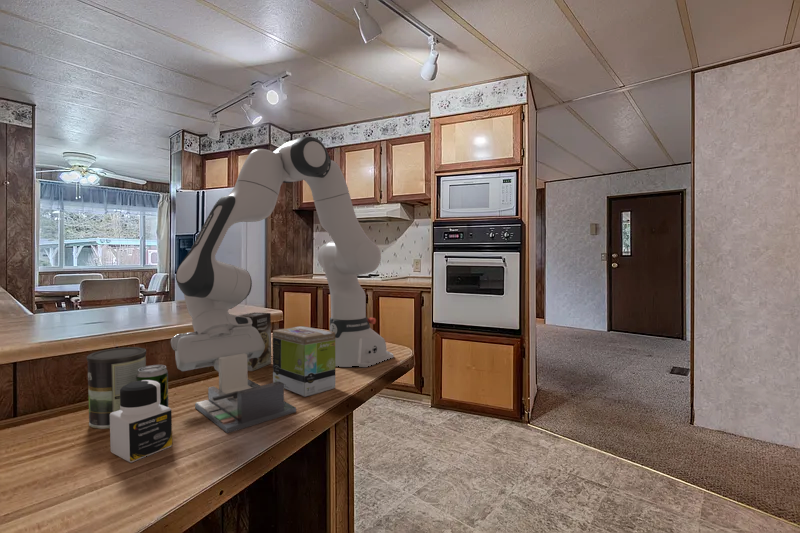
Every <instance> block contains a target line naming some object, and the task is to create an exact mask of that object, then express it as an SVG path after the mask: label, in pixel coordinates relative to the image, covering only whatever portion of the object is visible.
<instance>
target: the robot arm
mask: <svg viewBox="0 0 800 533" xmlns="http://www.w3.org/2000/svg"><path fill="white" fill-rule="evenodd" d="M300 181H305V183H306V184H307V185H308V187H309V189H310V191H311V196H312V199H313V203H314V206H315V210H316V214H317V217H318V220H319V224H320V226H321V228H322V229H324V230H325V231H326V232H327V234H328V235H329V236H330V238H331V239H332V240H331V241H328V242H326V243H324V244H323V245H321V247H320V248H319V249H318V252H317V260H318V263H319V265H320V267H321V268H322V269H323V271H324V274H325V277H326V281H327V284H328V289H329V294H330V295H329V296H330V297H329V298H330V317H329V331H332V332H335V367H338V366H339V367H340V368H353V367H352V366H359V367H358V368H369V367H371V365H372V366H375V365H376V363H377V364H380V363H383V362H385V361H387V359H388V360H390V358H391V359H393V358H394V357H395V356H394V354H393V353H392V352H390V351H388V350H387V343H386V340H385V338H384V337H383V336H381V335H380V334H379V333H378V332H376V331H375V330H373V329H372V328H371V325H370V324H372V325H375V324H376V322H377V319H376V317H371V316H370V317H369V318H368V317H367V313H366V312H367V311H366V308H367V306H366V305H367V303H366V302H367V301H366V299H367V297H366V292H365V289H364V288H362V286H361V284H360V282H359V279H358V276H360V275H361V276H362V275H366V274H371V273H372V272H374V271H376V270H377V269H378V267H379V265H380V263H381V260H382V255H381V250H380V248H379V246H378V245H377V244H376V243H375V242H374V241H372V240H371V239H370V238H369V237H368V235H367V234H366V232H365V231H364V229H363V227H362V225H361V224H360V222H359V220H358V218H357V216H356V212H355V208H354V205H353V202H352V199H351V195H350V194H351V193H350V190H349V187H348V185H347V184H348V183H347V182H346V179H345V176H344V173H343V171H342V170H341V167H340V165H339V164H338V163H337V162H336V161H334V160H332V159H331V156H330V155H329V152H328V150H327V148H326V146H325V144H323V142H322V141H321V140H320V139H319V138H317V137H314V136H301V137H298V138H295V139H292V140H289V141H286V142H285V143H283V144H282V145H280V146H278V147H276V148H274V149H273V150H269V149H267V148H266V149H265V148H257V149H253V150H252V151H251V152H250V153H249V154H248V156H246V159H245V161H244V162H243V164H242V167H241V168H240V171H239V174H238V176H237V178H236V182H235V184H234V187H233V189H232V190H231V191H230V192H229V194H228V195H224V196H221V197H220V198H219V199H218V200H217V201H216V203H215V204H214V205H213V207H212V208H211V210H210V212H209V214H208V216H207V217H206V220H205V222H204V224H203V225H202V227H201V229H200V230H199V233H198V235H197V236H196V238H195V240H194V243H193V245H192V246H191V248H190V250H189V251H188V253H187V254H186V255H185V257H184V258H183V259H182V261H181V262H180V263H179V265H178V267H177V269H176V272H175V281H176V283H177V286H178V288H179V289H180V291H181V293H183V295H184V303H185V306H186V309H187V312H188V315H189V316H190V317H191V324H192V328H193V331H191V332H190V331H189V332H185V333H177V334H175V336H172V338H171V339H170V346H171V349H172V350H173V351H174V354H175V356H174V357H175V364H176V368H177V369H178V370H179V371H180V372H186V371H191V370H192V371H193V370H197V369H202V368H209V367H213V368H214V370H215V371H217V372H218V373H219V358H220V357H226V356H232V355H237V354H243V353H245V354H247V359H251V358H256V357H260V356H261V355H262V353H263V351H264V349H265V344H264V342H263V339H262V337H261V335H260V334H259V332H258V330H257V329H256V328H255V327H252V320H251V318H248V317H241V316H240V315H235V314H231V313H229V310H232V309H234V308H236V307H237V306H238V305H239V304H241V303H242V302H244V301H245V300H246V299H247V298H248V297H249V296H250V293H251V291H252V287H253V286H252V284H253V282H252V276H251V274H250V272H249V271H248V270H247V269H245V268H243V267H240V266H236V265H233V264H230V263H227V262H223V261H221V260H217V259H216V254H217V253H218V250H219V248H220V246H221V245H222V242H223V240H224V238H225V237H226V234H227V232H228V230H229V229H230V228H231V227H232V226H233V225H235V224H238V223H253V222H254V223H255V222H256V223H257V222H260V221H263V220H265V219H267V218H269V217H270V216H271V215H272V213H273V212H274V210H275V207H276V205H277V202H278V198H279V194H280V191H281V186H282V185H283V183H284V184H291V183H294V182H295V183H296V182H300ZM384 360H385V361H384ZM382 361H383V362H382ZM379 362H380V363H379ZM368 366H369V367H368Z"/></svg>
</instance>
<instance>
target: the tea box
mask: <svg viewBox="0 0 800 533" xmlns="http://www.w3.org/2000/svg"><path fill="white" fill-rule="evenodd" d="M336 381H337V380H336V366H335V332H332V331H330V330H325V329H320V328H315V327H309V326H303V325H302V326H300V325H299V326H293V327H288V328H279V329H273V330H272V383H274V382H282V383H284V390H288V391H290V392H293V393H295V394H298V395H300V396H302V397H310V396H313V395H317V394H320V393H323V392H326V391H330V390H333V389H335V388H336Z"/></svg>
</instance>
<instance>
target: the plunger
mask: <svg viewBox="0 0 800 533" xmlns="http://www.w3.org/2000/svg"><path fill="white" fill-rule="evenodd" d="M248 374H249V373H248V370H247V354H245V353H243V354H237V355H232V356H226V357H220V358H219V372H218V389H219V390H221V391H222V392H224V393H225V394H224V395H220V396H215V397H213V401H216V400H220V399H224V398H228V397H232V398H233V399H235V400H237V391H241V390H245V389H250V388H252V387H250V386H249V385H248V379H249V377H248Z"/></svg>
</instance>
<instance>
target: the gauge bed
mask: <svg viewBox="0 0 800 533" xmlns="http://www.w3.org/2000/svg"><path fill="white" fill-rule="evenodd" d="M248 385H249V386H250V387H252V388H250V389H245V390H241V391H237V400H235V399H233V398H232V397H228V398H224V399H220V400H216V401H213V397H215V396H220V395H224V394H225V393H224V392H222V391H221V390H219V388H218V387H216V386H208V387H207V389H208V390H207V391H208V392H207V395H208V399H205V400H201V401H197V402H195V403H194V405H195V406H194V407H195V409H196V410H197V411H198V412H200V413H201V414H202V415H204V417H206V418H208V420H210V421H211V422H212V423H214V424H215V425H216V426H218V427H219V429H221V430H223V431H224V432H225V433H227V434H229V433H232V432H233V433H234V432H235V431H239V430H242V429H245V428H248V427H252V426H255V425H258V424H262V423H264V422H268V421H272V420H274V419H278V418H280V417H284V416H287V415H291V414H294V413H297V407H296V406H294V405H292V404H290V403H288V402H287V401H285V396H284V395H285V394H284V393H285V388H284V383H282V382H274V383H273V382H271V383H266V384H262V385H260V384H259V383H257V382H254V381H252V380H250V379H249V378H248Z"/></svg>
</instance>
